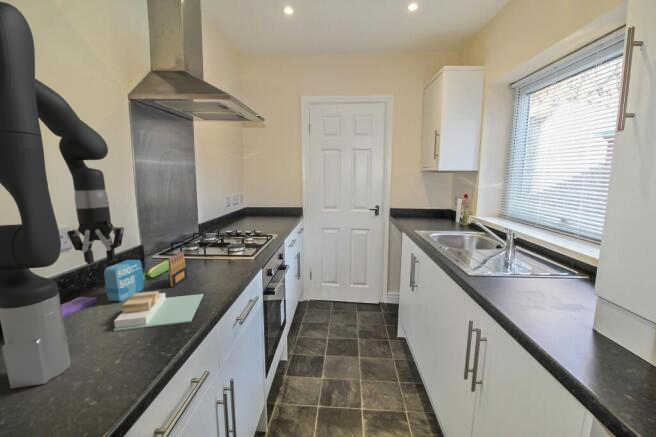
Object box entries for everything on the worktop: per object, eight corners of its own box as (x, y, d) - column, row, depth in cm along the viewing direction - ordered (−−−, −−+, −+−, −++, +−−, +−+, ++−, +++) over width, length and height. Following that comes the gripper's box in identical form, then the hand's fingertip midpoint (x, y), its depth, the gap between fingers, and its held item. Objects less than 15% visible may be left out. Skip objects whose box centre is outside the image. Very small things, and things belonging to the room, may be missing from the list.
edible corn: (176, 267, 139) (175, 258, 138) (150, 283, 119) (148, 272, 119) (165, 267, 139) (164, 258, 139) (137, 283, 120) (136, 273, 119)
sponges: (97, 302, 103) (96, 297, 103) (58, 320, 91) (57, 314, 91) (81, 301, 104) (80, 296, 104) (40, 318, 92) (39, 313, 92)
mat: (190, 322, 87) (190, 320, 87) (113, 331, 83) (113, 329, 83) (203, 294, 106) (203, 293, 106) (141, 301, 102) (141, 300, 102)
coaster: (149, 310, 89) (148, 302, 89) (123, 313, 88) (122, 305, 87) (159, 298, 98) (158, 291, 98) (135, 300, 96) (134, 293, 96)
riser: (146, 324, 85) (145, 317, 85) (115, 328, 84) (114, 320, 83) (165, 298, 103) (165, 292, 102) (140, 301, 101) (139, 295, 101)
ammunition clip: (174, 287, 114) (170, 257, 112) (169, 287, 114) (166, 257, 112) (187, 277, 124) (184, 250, 123) (183, 277, 124) (180, 250, 123)
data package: (119, 303, 101) (115, 269, 99) (107, 302, 102) (102, 269, 100) (145, 289, 113) (141, 258, 111) (134, 289, 113) (130, 258, 112)
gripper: (55, 208, 81) (65, 268, 83) (114, 206, 84) (122, 264, 86) (71, 205, 88) (80, 261, 91) (126, 203, 91) (133, 257, 94)
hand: (100, 262), depth 89 cm, fingers open, 4 cm apart
